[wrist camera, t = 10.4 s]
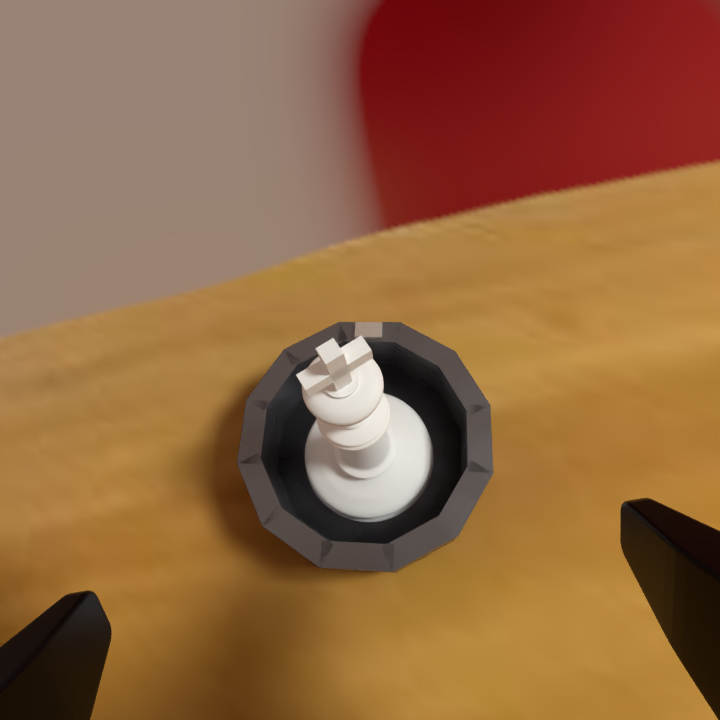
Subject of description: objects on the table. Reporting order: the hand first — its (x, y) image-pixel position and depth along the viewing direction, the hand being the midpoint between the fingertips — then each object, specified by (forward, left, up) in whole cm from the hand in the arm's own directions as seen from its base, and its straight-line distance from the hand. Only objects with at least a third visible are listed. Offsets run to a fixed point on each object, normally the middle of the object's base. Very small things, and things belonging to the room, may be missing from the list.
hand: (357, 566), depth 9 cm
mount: (+4, +1, -11) cm, 12 cm away
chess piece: (+4, +1, -11) cm, 11 cm away
